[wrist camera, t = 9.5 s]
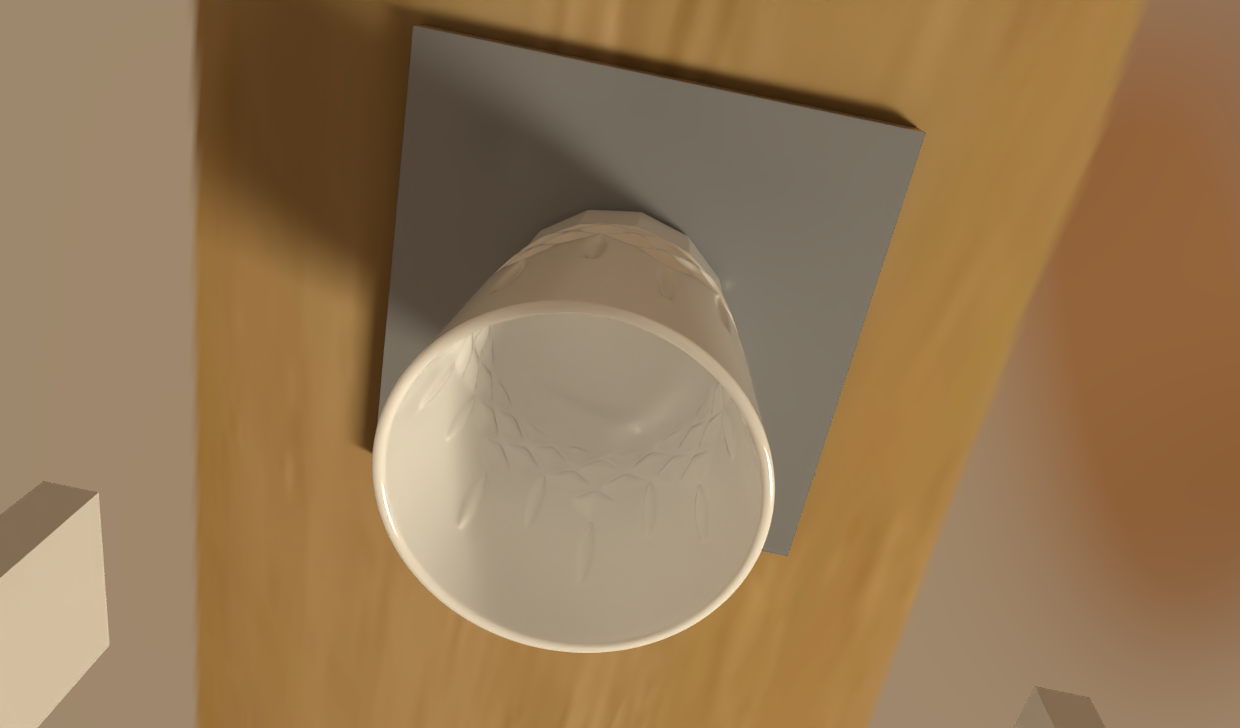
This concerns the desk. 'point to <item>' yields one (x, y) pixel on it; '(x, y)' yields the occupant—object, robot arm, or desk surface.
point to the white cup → (581, 444)
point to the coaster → (652, 209)
